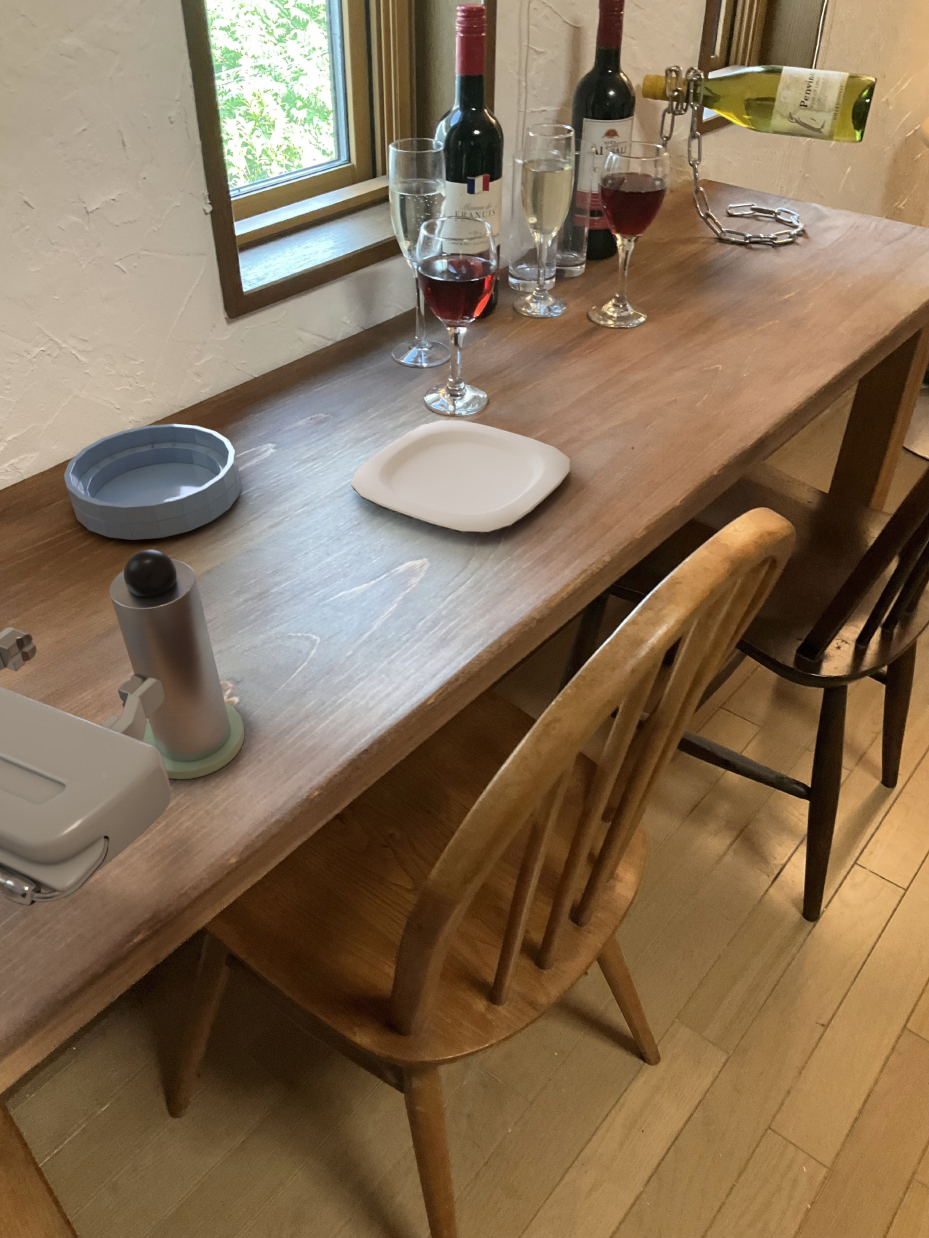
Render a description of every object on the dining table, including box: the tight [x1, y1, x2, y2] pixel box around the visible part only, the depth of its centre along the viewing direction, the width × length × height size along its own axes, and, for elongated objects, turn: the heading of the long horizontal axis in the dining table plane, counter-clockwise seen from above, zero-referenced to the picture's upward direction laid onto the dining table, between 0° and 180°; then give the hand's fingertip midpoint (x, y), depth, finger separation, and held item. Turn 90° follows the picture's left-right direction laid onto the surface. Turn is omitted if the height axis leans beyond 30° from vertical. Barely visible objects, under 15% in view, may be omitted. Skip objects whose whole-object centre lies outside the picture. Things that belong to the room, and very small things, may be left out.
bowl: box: [63, 423, 242, 541], centre depth 90 cm, size 15×15×4 cm
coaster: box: [143, 702, 245, 780], centre depth 66 cm, size 7×7×1 cm
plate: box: [350, 419, 571, 535], centre depth 92 cm, size 18×18×2 cm
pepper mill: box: [109, 549, 231, 762], centre depth 61 cm, size 5×5×15 cm
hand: (87, 660), depth 55 cm, fingers open, 8 cm apart
